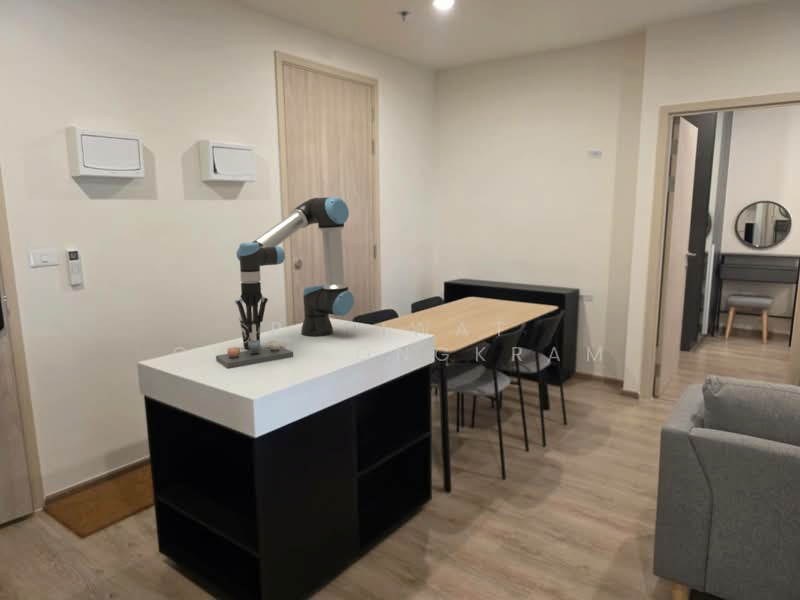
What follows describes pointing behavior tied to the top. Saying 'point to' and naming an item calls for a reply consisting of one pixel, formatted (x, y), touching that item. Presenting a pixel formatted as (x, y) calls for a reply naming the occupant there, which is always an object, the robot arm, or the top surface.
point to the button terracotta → (233, 352)
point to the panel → (253, 357)
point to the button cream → (274, 345)
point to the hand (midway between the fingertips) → (253, 340)
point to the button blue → (254, 345)
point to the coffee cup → (246, 334)
